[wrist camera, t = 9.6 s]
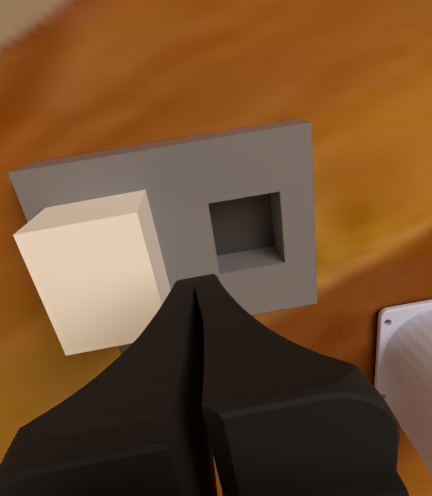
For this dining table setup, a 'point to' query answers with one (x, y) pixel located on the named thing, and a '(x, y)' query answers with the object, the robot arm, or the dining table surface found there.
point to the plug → (96, 269)
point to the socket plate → (208, 205)
